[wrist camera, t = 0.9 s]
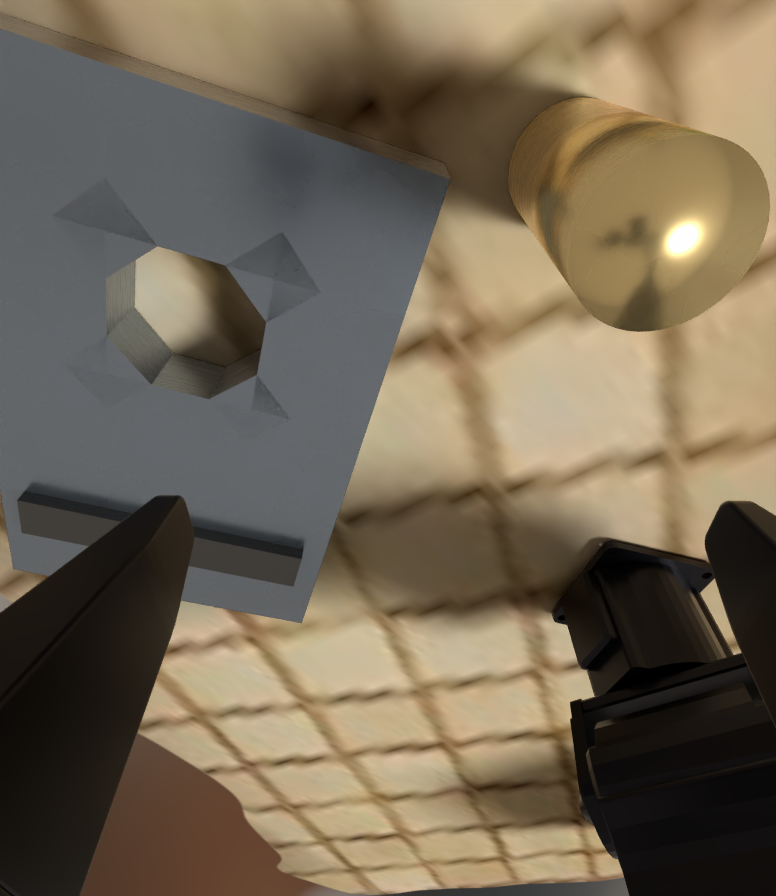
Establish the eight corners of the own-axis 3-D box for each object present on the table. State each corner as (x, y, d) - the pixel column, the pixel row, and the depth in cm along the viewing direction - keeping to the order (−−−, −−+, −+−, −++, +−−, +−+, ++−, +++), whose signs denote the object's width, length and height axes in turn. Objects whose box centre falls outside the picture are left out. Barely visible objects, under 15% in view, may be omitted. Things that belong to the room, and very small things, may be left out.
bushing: (659, 122, 17) (815, 172, 11) (594, 247, 19) (691, 350, 13) (541, 78, 17) (633, 103, 10) (489, 213, 19) (537, 303, 12)
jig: (444, 163, 18) (451, 183, 15) (307, 584, 31) (299, 633, 28) (-21, 5, 16) (-99, -1, 13) (40, 531, 28) (6, 578, 26)
